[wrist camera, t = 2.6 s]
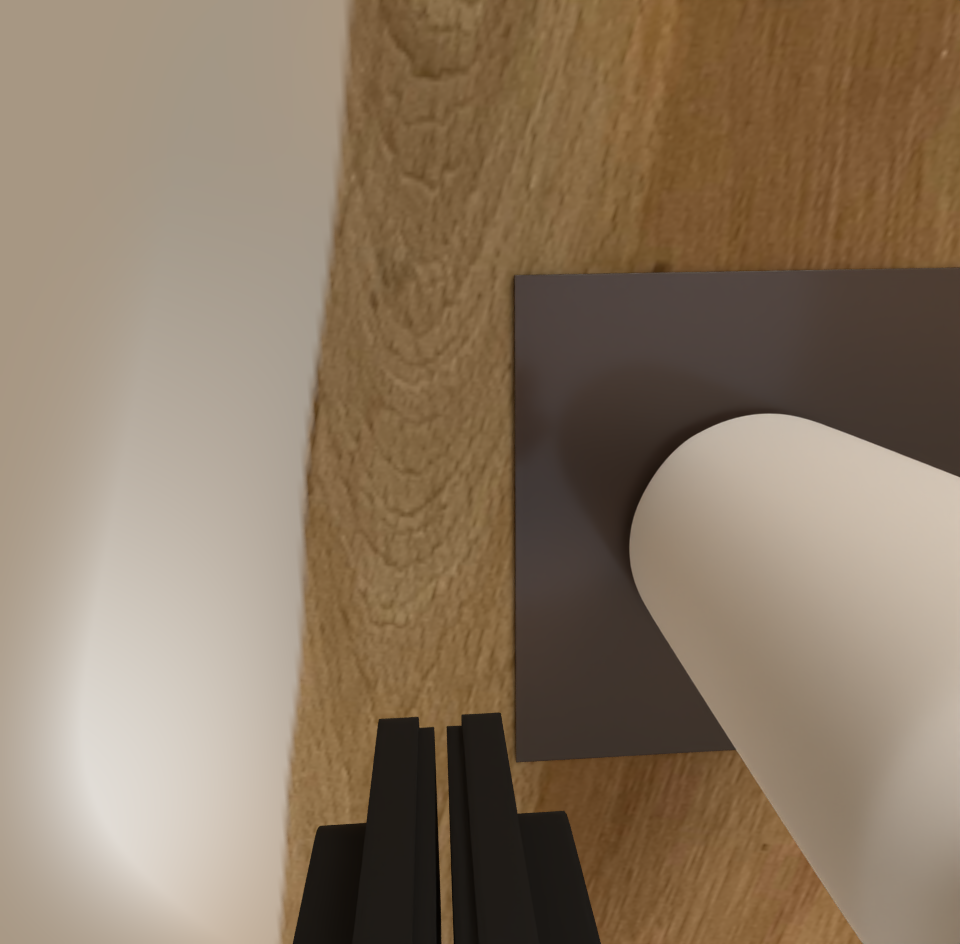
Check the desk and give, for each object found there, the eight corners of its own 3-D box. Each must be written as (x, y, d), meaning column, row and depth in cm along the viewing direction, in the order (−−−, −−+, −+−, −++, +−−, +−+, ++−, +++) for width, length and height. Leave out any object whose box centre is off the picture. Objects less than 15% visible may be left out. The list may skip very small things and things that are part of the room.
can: (744, 355, 18) (1347, 518, 6) (920, 509, 19) (1683, 883, 7) (572, 556, 19) (802, 1020, 7) (750, 688, 20) (1183, 1255, 9)
